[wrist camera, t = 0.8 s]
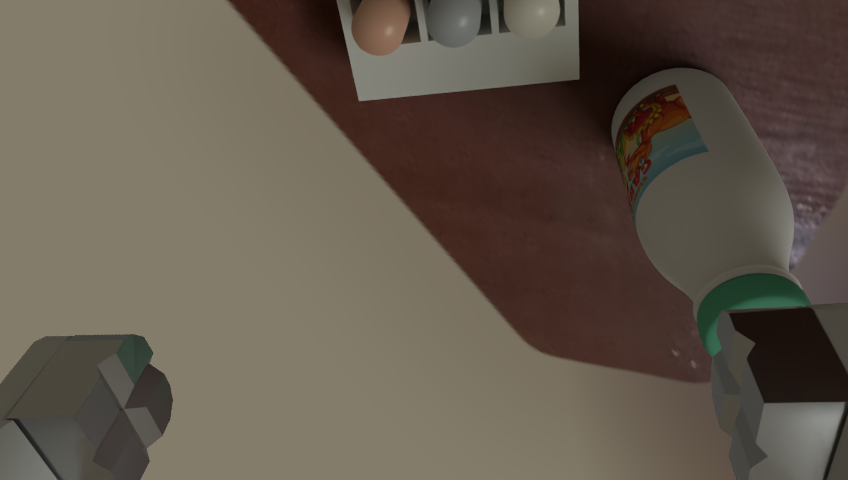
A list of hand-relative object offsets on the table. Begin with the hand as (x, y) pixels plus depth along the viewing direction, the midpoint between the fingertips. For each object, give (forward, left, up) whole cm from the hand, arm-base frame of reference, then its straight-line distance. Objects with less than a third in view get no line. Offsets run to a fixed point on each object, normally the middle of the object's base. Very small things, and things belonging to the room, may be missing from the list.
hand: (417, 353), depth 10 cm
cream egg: (+5, +2, -32) cm, 33 cm away
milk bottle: (+15, +11, -35) cm, 40 cm away
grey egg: (+5, -2, -32) cm, 33 cm away
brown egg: (+5, -6, -32) cm, 33 cm away
